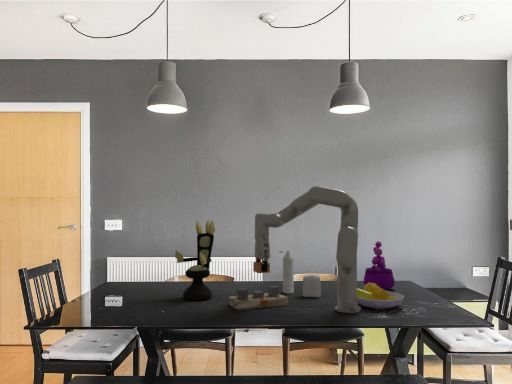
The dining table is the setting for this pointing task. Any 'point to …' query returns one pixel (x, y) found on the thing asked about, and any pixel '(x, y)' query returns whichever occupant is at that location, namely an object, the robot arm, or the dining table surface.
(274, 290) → the block
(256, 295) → the block
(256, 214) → the robot arm
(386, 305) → the fruit bowl
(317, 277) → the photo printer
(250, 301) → the breaker board
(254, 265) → the cap
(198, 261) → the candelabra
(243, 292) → the block
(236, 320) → the dining table surface
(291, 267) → the water bottle
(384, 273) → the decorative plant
